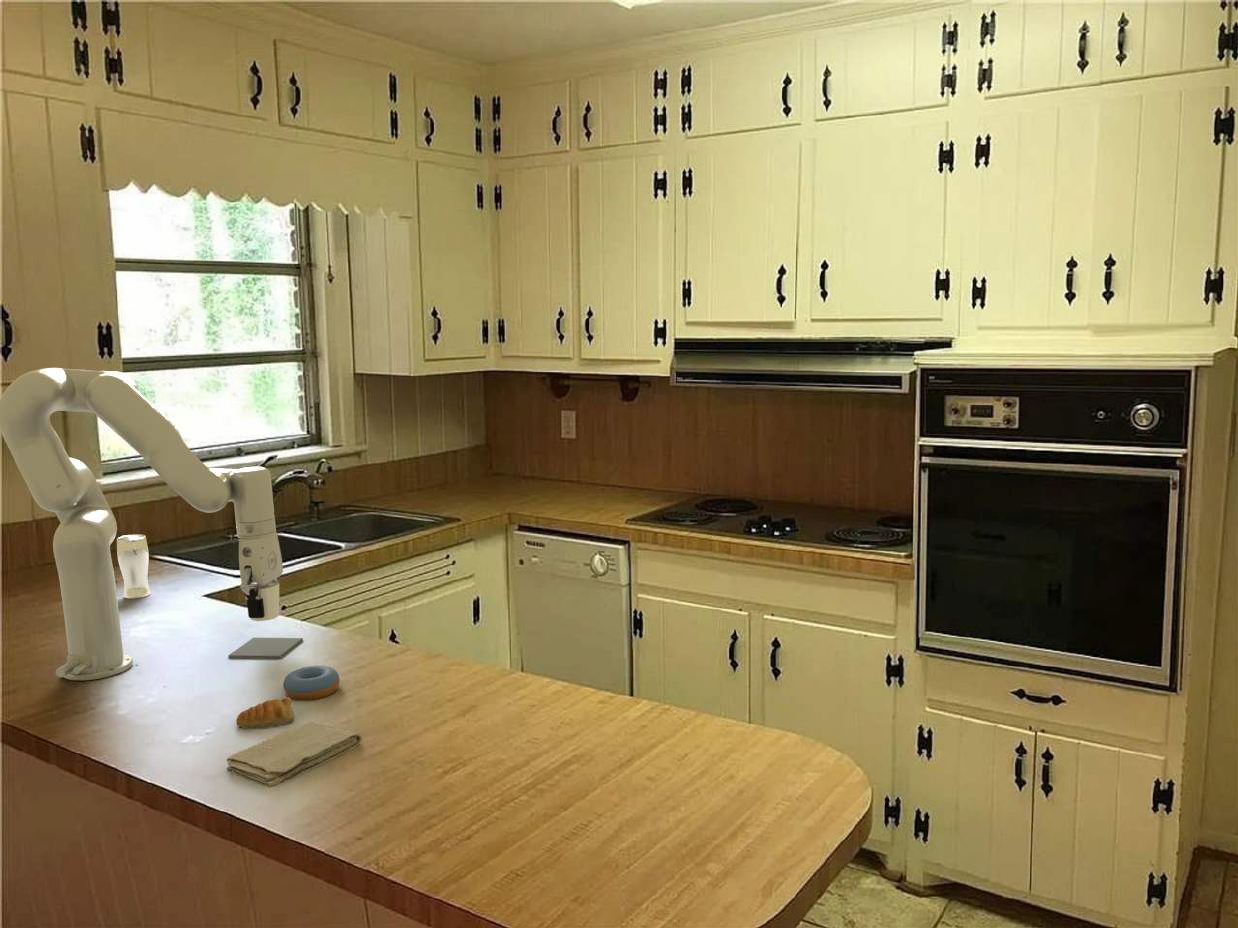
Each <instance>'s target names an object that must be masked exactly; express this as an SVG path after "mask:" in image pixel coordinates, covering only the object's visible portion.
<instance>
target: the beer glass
mask: <svg viewBox="0 0 1238 928" xmlns="http://www.w3.org/2000/svg"><path fill="white" fill-rule="evenodd" d="M116 553H117V560H118V561H117V562H118V565H119V568H120V572H121V575H122V578H123V583H124V589H123V590H124V591H123V597H124V598H125V599H126V598H127V599H128V600H135V599H136V600H137V599H143V598H146V597H148V596H151V594H152V593H151V592H152V591H151V590H150V586H149V581H148V576H149V575H148V572H149V561H150V560H149V557H150V556H149V547H148V542H147V537H146V535H145V534H140V533H139V534H138V533H137V534H128V535H122V536H120V537H117V538H116Z"/></svg>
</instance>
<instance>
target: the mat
mask: <svg viewBox="0 0 1238 928" xmlns="http://www.w3.org/2000/svg"><path fill="white" fill-rule="evenodd" d="M303 641H304V638H303V637H252V638H251V639H249V640H248V641H247V642H245V643H244V644H242V645H241V646H240V647H238V648H236V649H235V650H234V651H232V652H231V653H230V654H228V659H255V658H273V659H274V658H276V659H274V660H279V659H282V658H283V657H284V656H286V655H287V654H289V652H290V650H291V651H292V650H293V649H294V648H296V647H297V646H299V645H300V644H301V643H302V642H303ZM285 654H286V655H285ZM273 659H272V660H273Z"/></svg>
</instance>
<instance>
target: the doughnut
mask: <svg viewBox="0 0 1238 928" xmlns="http://www.w3.org/2000/svg"><path fill="white" fill-rule="evenodd" d="M340 681H341V680H340V675H339V672H337V670H336V669H334V668H332V667H330V666H325V665H310V666H304V667H300V668H297V669H294V670H293V671H290V673H288V674H287V675H285V678H284V680H283V683H282V686H283V690H284V693H285V694H286V695H287V697H288V698H290V699H293V700H294V699H295V700H299V701H300V700H301V701H308V700H309V701H312V700H317V699H322V698H325V697H327V696H330V695H331V694H333V693H334V692H335V691H336V690H337V689H338V688H339V687H340Z"/></svg>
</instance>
